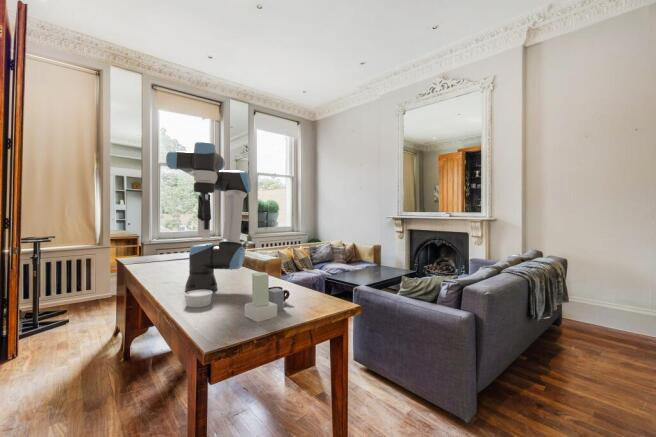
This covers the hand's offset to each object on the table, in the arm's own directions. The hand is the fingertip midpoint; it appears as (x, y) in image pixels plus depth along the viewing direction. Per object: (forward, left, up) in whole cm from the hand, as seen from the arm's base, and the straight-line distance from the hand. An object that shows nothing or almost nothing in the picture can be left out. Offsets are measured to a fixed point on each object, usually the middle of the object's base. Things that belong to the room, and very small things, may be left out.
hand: (203, 236), depth 118 cm
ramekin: (-13, 0, -31) cm, 34 cm away
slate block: (+6, +28, -31) cm, 42 cm away
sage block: (+12, +20, -26) cm, 35 cm away
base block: (+12, +20, -31) cm, 39 cm away
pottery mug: (-2, +32, -31) cm, 44 cm away
